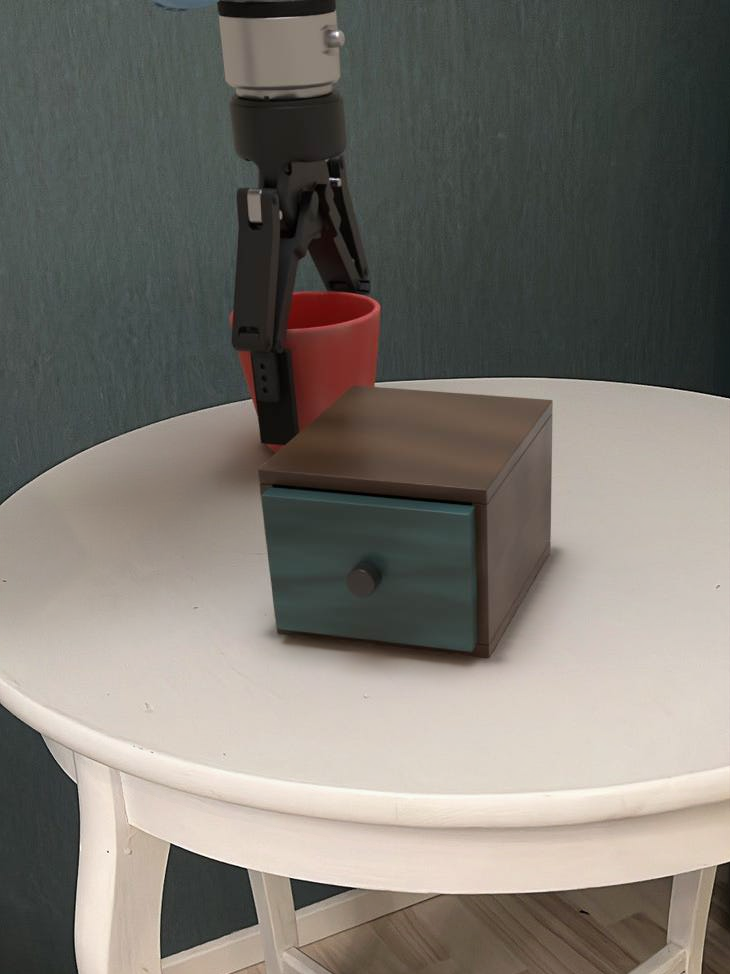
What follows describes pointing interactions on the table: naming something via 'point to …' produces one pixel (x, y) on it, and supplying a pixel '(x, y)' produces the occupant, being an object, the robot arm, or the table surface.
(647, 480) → the table surface
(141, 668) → the table surface
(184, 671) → the table surface
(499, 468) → the cabinet
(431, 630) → the drawer
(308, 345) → the flower pot
